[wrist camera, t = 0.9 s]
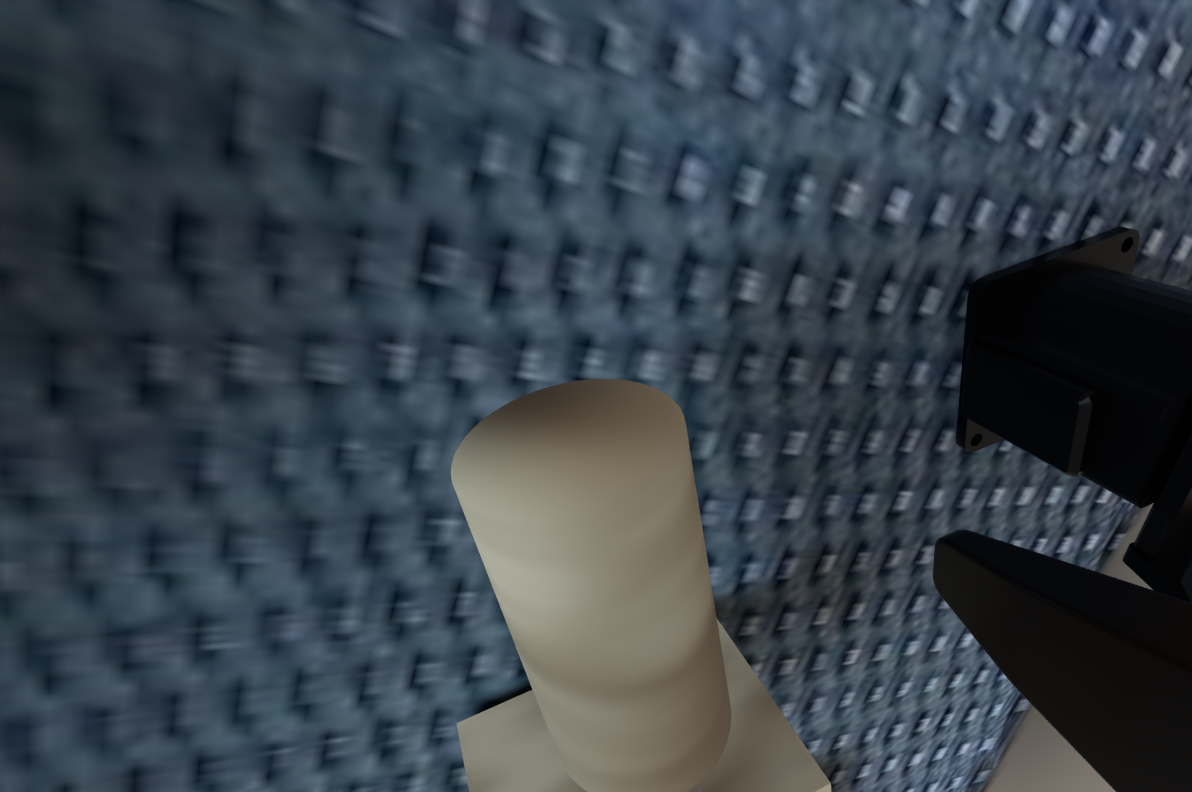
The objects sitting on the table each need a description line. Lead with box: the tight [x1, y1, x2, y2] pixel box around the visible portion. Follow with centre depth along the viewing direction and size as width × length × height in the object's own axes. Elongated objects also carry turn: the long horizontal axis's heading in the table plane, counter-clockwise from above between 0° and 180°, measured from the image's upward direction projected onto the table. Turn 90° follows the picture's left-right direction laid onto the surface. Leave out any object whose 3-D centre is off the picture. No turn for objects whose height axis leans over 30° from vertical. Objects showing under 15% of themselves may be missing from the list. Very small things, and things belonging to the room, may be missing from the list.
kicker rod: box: [451, 379, 831, 792], centre depth 15 cm, size 9×16×10 cm, turn 13°
